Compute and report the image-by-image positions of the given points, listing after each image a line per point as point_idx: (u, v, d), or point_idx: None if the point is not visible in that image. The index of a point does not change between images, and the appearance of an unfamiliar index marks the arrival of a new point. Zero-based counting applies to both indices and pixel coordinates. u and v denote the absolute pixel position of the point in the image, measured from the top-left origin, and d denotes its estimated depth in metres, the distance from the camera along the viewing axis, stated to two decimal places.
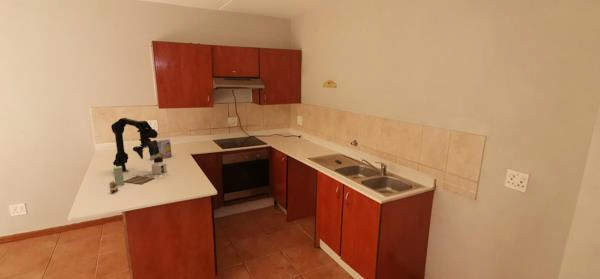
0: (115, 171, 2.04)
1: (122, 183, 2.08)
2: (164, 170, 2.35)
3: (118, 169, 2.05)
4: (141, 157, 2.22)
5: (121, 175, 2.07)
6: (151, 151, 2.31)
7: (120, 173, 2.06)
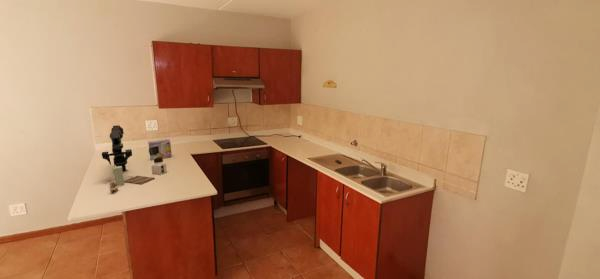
0: (115, 171, 2.04)
1: (122, 183, 2.08)
2: (164, 170, 2.35)
3: (118, 169, 2.05)
4: None
5: (121, 175, 2.07)
6: (125, 158, 2.17)
7: (120, 173, 2.06)
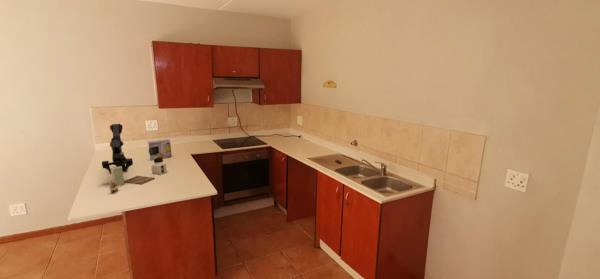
0: (115, 171, 2.04)
1: (122, 183, 2.08)
2: (164, 170, 2.35)
3: (118, 169, 2.05)
4: (109, 172, 2.06)
5: (121, 175, 2.07)
6: (125, 167, 2.12)
7: (120, 173, 2.06)
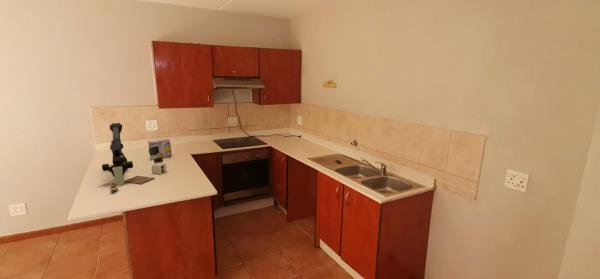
0: (115, 171, 2.05)
1: (122, 183, 2.08)
2: (164, 170, 2.35)
3: (118, 169, 2.05)
4: None
5: (121, 175, 2.07)
6: (123, 171, 2.10)
7: (120, 173, 2.06)
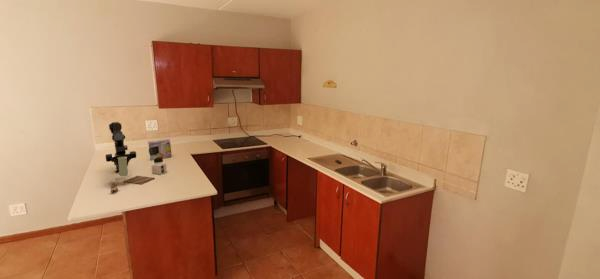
0: (120, 161, 2.05)
1: (126, 173, 2.09)
2: (164, 170, 2.35)
3: (123, 159, 2.06)
4: (117, 165, 2.06)
5: (125, 165, 2.07)
6: None
7: (125, 163, 2.07)
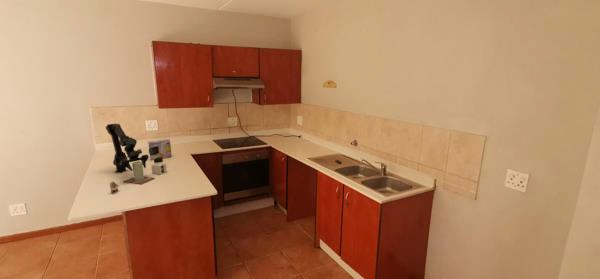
0: (136, 166, 2.13)
1: (142, 177, 2.17)
2: (164, 170, 2.35)
3: (139, 164, 2.14)
4: (130, 169, 2.12)
5: (142, 170, 2.16)
6: (143, 163, 2.20)
7: (141, 168, 2.16)
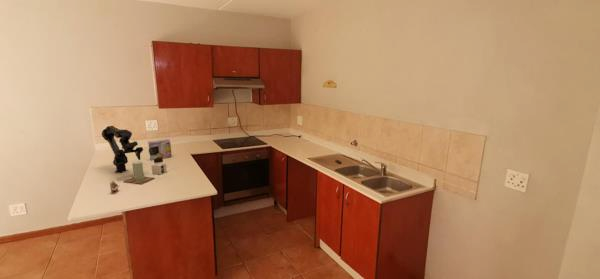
0: (136, 166, 2.13)
1: (142, 177, 2.17)
2: (164, 170, 2.35)
3: (139, 164, 2.14)
4: (126, 160, 2.17)
5: (142, 170, 2.16)
6: (138, 156, 2.26)
7: (141, 168, 2.16)
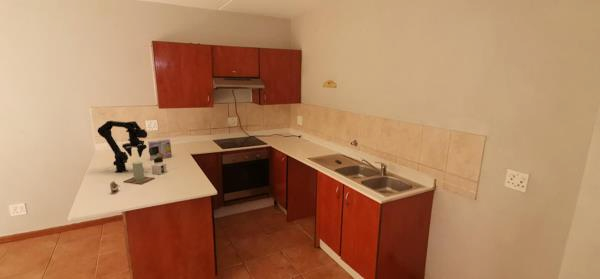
0: (136, 166, 2.13)
1: (142, 177, 2.17)
2: (164, 170, 2.35)
3: (139, 164, 2.14)
4: (140, 155, 2.32)
5: (142, 170, 2.16)
6: (130, 151, 2.35)
7: (141, 168, 2.16)
